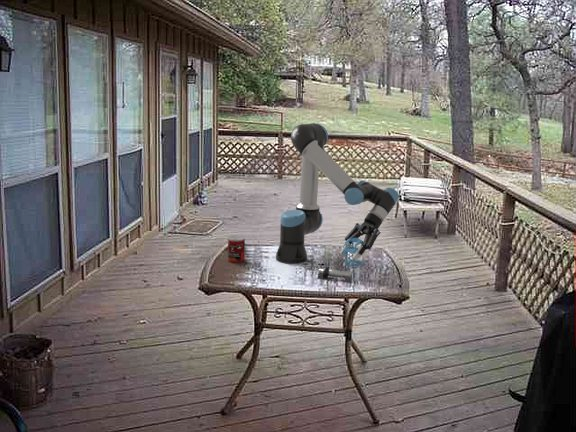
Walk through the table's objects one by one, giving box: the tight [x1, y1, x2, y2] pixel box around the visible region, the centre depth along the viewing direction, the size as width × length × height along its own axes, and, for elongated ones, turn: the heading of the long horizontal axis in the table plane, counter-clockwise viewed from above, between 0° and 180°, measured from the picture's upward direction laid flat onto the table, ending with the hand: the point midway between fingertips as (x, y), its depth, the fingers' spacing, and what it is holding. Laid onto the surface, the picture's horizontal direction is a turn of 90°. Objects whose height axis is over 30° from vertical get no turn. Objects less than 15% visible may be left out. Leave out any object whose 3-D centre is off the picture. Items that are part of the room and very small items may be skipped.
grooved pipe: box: [317, 266, 353, 283], centre depth 272 cm, size 14×5×5 cm, turn 74°
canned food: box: [227, 235, 246, 263], centre depth 294 cm, size 8×8×11 cm
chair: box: [344, 237, 366, 268], centre depth 276 cm, size 8×8×12 cm
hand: (347, 257), depth 274 cm, fingers closed on chair, 7 cm apart
